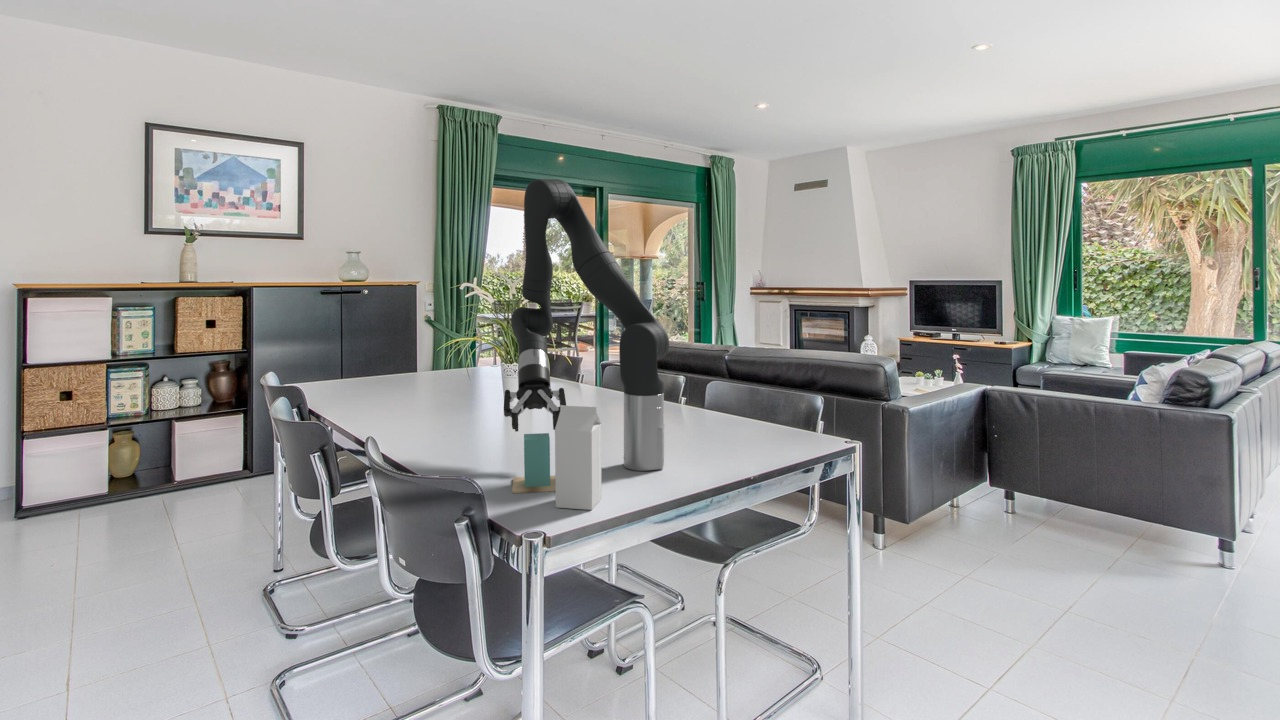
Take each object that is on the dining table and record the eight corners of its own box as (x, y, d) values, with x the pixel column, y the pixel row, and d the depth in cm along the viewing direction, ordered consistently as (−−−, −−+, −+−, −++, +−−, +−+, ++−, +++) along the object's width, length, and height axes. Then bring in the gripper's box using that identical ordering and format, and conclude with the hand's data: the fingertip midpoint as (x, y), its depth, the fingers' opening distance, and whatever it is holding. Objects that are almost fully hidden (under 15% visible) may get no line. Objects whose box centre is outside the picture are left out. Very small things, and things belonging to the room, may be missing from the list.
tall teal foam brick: (549, 478, 143) (548, 433, 142) (550, 485, 138) (549, 438, 137) (524, 480, 142) (524, 434, 141) (524, 487, 137) (523, 439, 136)
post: (559, 477, 146) (559, 439, 145) (562, 490, 136) (561, 450, 135) (513, 479, 144) (512, 441, 143) (512, 493, 134) (511, 452, 134)
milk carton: (591, 510, 124) (591, 410, 122) (555, 508, 126) (554, 408, 124) (601, 499, 131) (601, 403, 129) (567, 496, 133) (566, 402, 130)
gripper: (503, 363, 156) (502, 420, 146) (564, 361, 159) (568, 418, 149) (504, 382, 162) (504, 439, 152) (563, 380, 165) (567, 436, 155)
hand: (535, 428), depth 151 cm, fingers open, 8 cm apart
